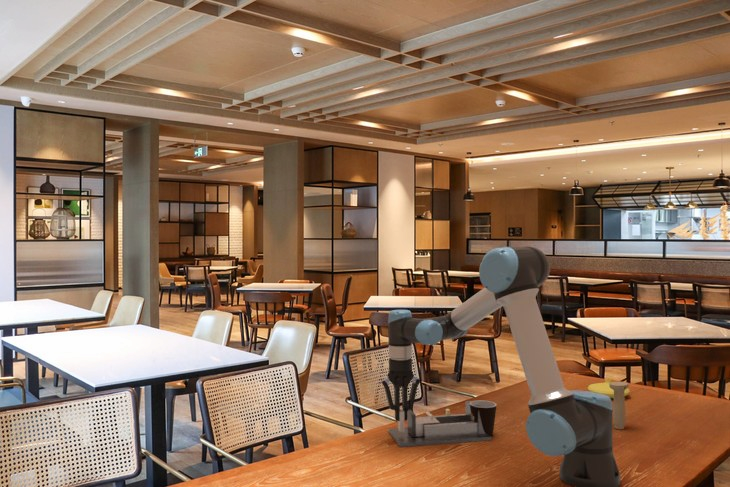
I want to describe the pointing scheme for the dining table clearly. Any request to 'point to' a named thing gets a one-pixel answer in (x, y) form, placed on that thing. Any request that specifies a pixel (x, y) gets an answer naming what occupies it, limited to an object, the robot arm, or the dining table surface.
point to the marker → (447, 412)
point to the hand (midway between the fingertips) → (401, 430)
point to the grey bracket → (419, 423)
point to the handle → (619, 403)
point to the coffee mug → (484, 414)
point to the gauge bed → (421, 441)
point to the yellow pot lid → (604, 388)
